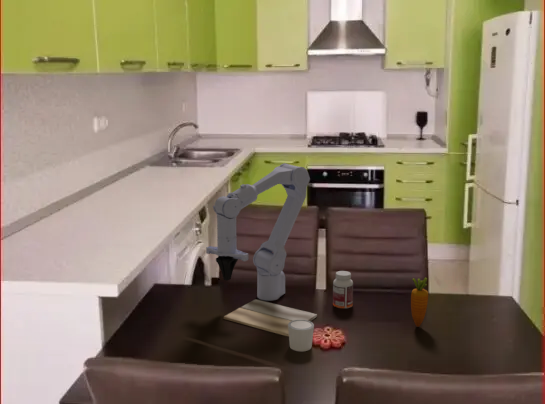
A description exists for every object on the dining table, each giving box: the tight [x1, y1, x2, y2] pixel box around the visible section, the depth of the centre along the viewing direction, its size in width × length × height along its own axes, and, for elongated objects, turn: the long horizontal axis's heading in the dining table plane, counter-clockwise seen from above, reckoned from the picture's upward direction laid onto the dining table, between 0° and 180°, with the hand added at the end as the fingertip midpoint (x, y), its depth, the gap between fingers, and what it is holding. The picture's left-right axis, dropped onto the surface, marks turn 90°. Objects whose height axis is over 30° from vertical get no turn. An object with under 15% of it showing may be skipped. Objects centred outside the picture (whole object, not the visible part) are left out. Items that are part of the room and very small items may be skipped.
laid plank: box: [240, 298, 318, 322], centre depth 183 cm, size 8×22×2 cm, turn 57°
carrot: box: [410, 277, 429, 328], centre depth 174 cm, size 5×5×15 cm
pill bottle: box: [332, 270, 354, 309], centre depth 189 cm, size 6×6×11 cm
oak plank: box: [223, 307, 291, 337], centre depth 176 cm, size 8×22×2 cm, turn 57°
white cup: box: [288, 320, 315, 352], centre depth 160 cm, size 7×7×7 cm
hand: (227, 279), depth 186 cm, fingers closed
